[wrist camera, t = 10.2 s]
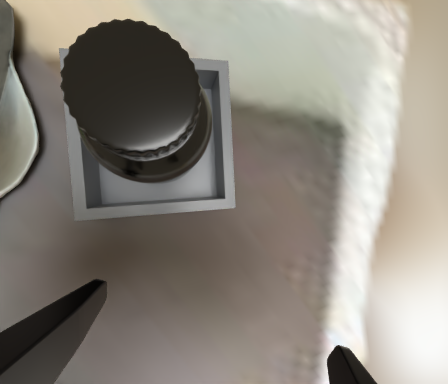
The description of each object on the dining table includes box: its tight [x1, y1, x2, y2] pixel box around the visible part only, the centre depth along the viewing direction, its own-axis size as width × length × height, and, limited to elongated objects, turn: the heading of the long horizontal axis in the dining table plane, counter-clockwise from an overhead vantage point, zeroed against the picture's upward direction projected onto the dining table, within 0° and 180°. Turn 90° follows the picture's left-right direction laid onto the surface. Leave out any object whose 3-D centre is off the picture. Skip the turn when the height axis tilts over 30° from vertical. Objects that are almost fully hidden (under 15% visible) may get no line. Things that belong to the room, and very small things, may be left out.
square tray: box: [59, 48, 235, 221], centre depth 18 cm, size 12×12×4 cm
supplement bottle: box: [60, 19, 212, 184], centre depth 14 cm, size 7×7×12 cm
